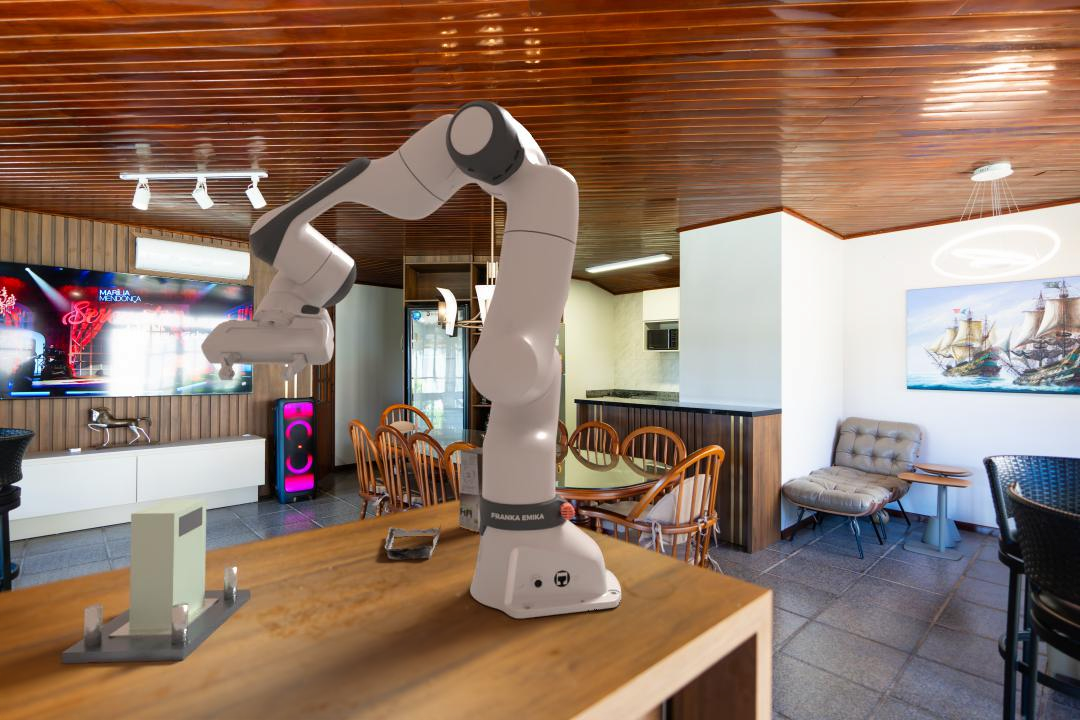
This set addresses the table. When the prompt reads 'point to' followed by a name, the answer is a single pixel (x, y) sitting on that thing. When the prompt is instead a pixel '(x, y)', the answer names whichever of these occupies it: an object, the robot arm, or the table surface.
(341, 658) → the table surface
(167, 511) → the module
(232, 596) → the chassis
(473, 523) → the coffee box
